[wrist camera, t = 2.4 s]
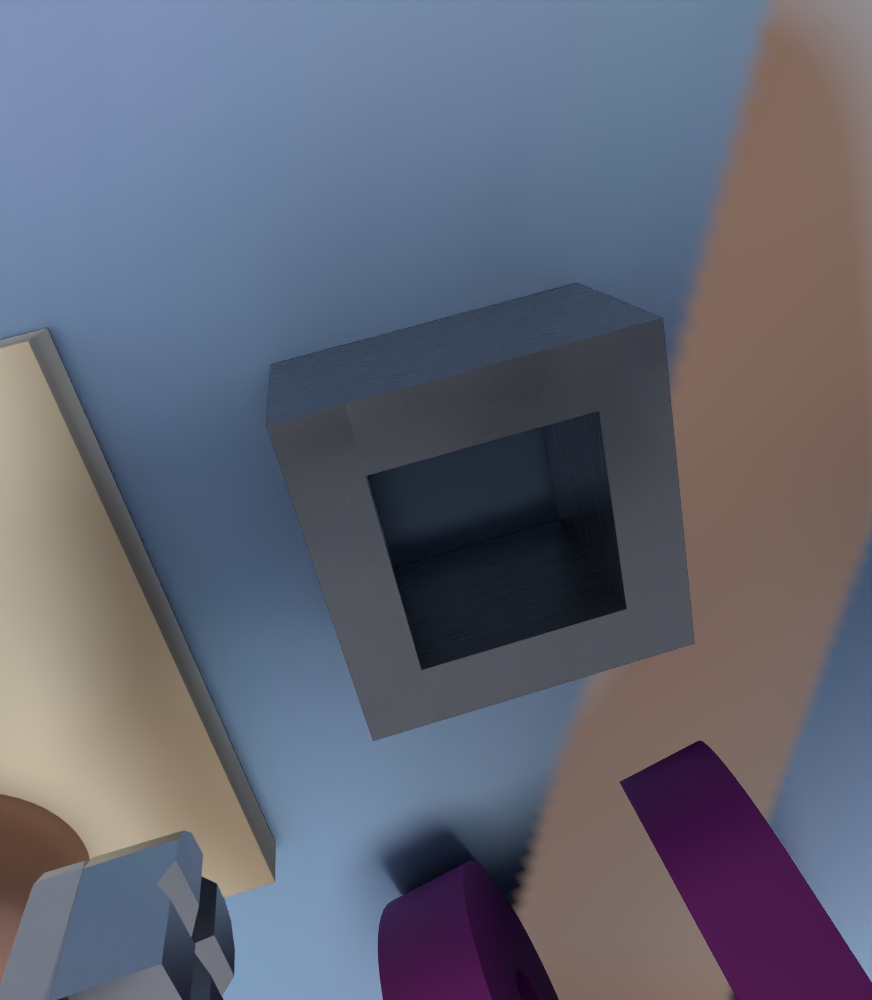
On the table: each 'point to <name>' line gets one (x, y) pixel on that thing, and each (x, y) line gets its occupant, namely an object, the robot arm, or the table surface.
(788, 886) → the mounting bracket
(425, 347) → the collar
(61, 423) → the post board
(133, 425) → the table surface
